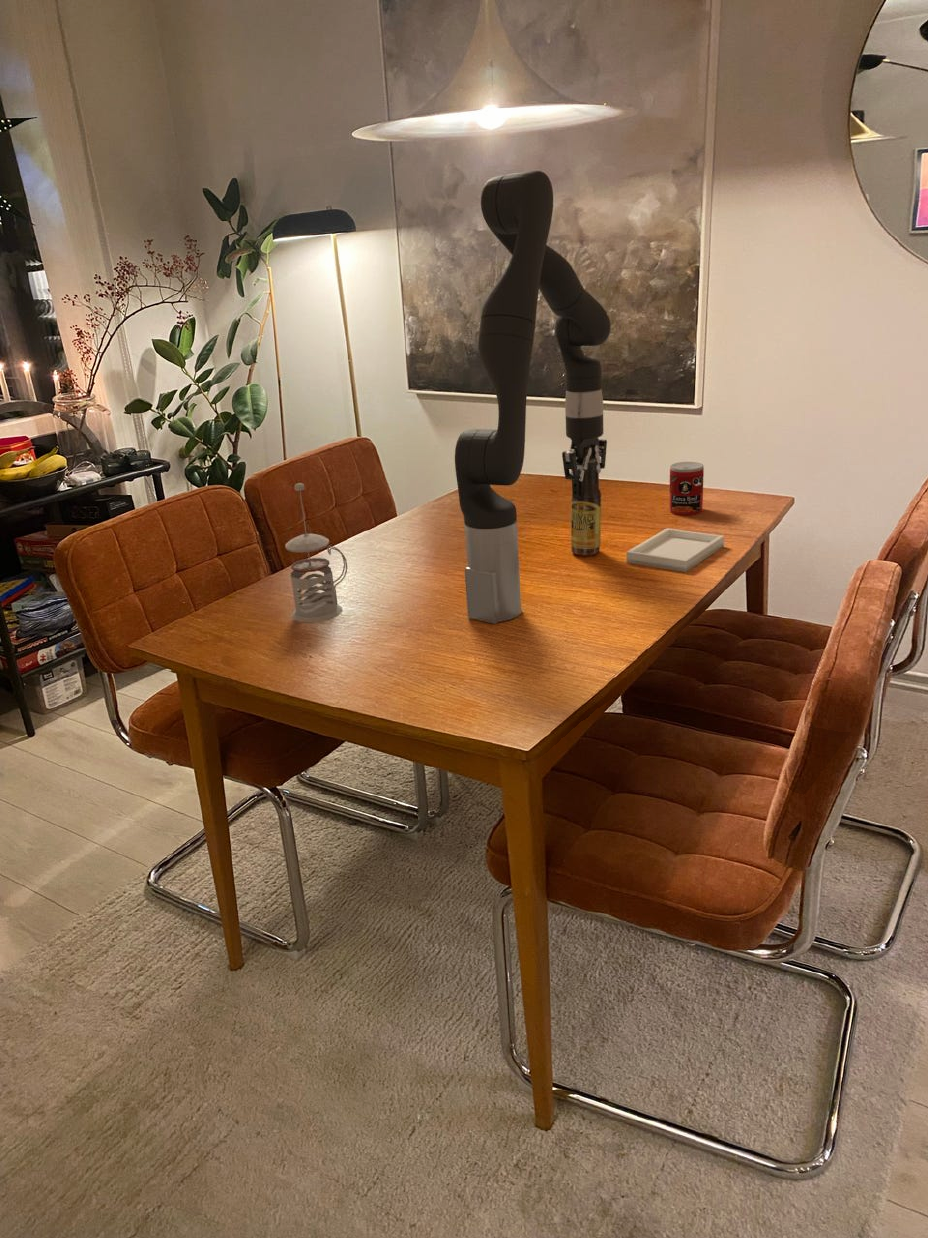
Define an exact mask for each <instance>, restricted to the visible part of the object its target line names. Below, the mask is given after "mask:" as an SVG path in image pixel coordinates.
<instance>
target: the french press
mask: <svg viewBox="0 0 928 1238" xmlns="http://www.w3.org/2000/svg"><path fill="white" fill-rule="evenodd" d="M303 490H306V488H305V484H304V483H302V482H297V483H295V485H294V491H296V492H298V491H299V497H300V503H301V510H302V511H301V513H302V518H303V525H304V526H303V527H304V532H305V533H303V534H300V535H298V536H296V537H293V538H291V539H290V540H289V541H288V542H286V543H285V549H286V550H287V551H288V552H292V553H307V555H308V558H304V559H299V560H297V561H294V562H293V563H292V564H291V565H290V569H291V570H292V571H291V573H290V580H291V587H292V593H293V599H294V600H293V601H294V607H295V609H294V610H293V611H292V612H291V613H290V618H291V619H292V620H294V621H295V622H299V623H309V624H310V623H313V624H314V623H320V622H324V621H328V620H332V619H334V618H336V617H339V616H340V615H341V614H342V613H343V607H342V606H340V604H338V596H337V590H336V589H337V588H336V587H337V586H338V585H340V584H341V583H342V582H343V581H344V579H346V575H347V573H348V562H347V558H346V557H345V555H344V553H343V552H342V551H341V550H340V549H339V548H338V547H335V546H333V545H329V544H330V540H329V538H327V537H326V536H324V535H322V534H321V535H320V534H316V533H307V528H306V519H305V512H304V507H303V498H302V492H301V491H303ZM326 547H327V548H326ZM325 548H326V549H327V550H326V551H327V554H328V555H329V556H331V555H332V550H334V551H337V552H338V553H339V554H340V555H341V557H342V560H343V561H342V562H343V567H342V572H341V574H340V576H339V577H337V578H336V579H335V580H334V577H333V570H332V567H330V566H329V565H330V560H328V559H326V558H322V557H314V558H313V557H312V558H311V555H310V552H316V551H320V550H322V549H325ZM312 572H321V573H322V574H319V573H312ZM307 573H311V574H307ZM306 574H307V575H306ZM305 575H306V576H305ZM343 575H344V576H343ZM303 576H305V577H304V578H302V577H303ZM341 578H342V579H341ZM340 579H341V580H340ZM339 580H340V581H339ZM319 584H320V585H319ZM318 585H319V586H318ZM303 591H304V592H303ZM318 591H322V592H318ZM302 592H303V593H302Z"/></svg>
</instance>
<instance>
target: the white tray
mask: <svg viewBox="0 0 928 1238" xmlns="http://www.w3.org/2000/svg"><path fill="white" fill-rule="evenodd" d="M724 547H725V535H722V534H721V535H720V534H714V533H713V534H712V533H706V532H698V531H691V530H690V531H689V530H684V529H683V530H682V529H677V528H676V529H675V528H669V527H668V528H665V529H663V530H661V531H659V532H658V533H657V534H655V535H653V536H651V537H650V538H648V539H646V540H644V541H643V542H640V543H639V544H637V545H635V546H634V547H632V548H631V549H629V550H627V551H626V563H628V564H632V565H633V564H634V565H640V566H645V567H652V568H657V569H663V570H671V571H674V572H675V571H676V572H682V573H687V572H688V571H690V570H691V569H693V568H694V567H696V566H697V565H698V564H700V563H702V562H703V561H704V560H706V559H707V558H709V557H710V556H712V555H713V554H715V553H716V552H718V551H719V550H720V549H722V548H724Z"/></svg>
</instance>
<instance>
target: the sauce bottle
mask: <svg viewBox="0 0 928 1238" xmlns="http://www.w3.org/2000/svg"><path fill="white" fill-rule="evenodd" d="M582 464H583V463H577V465H582ZM596 467H597V460H596V459H592V460H590V461H589V462H588V467H587V470H585V471H584V476H583V480H582V481H583V494H584V496H583V498H582V499H574V498H573V495H571V503H570V504H571V505H570V545H571V548H570V550H571V553H573V554H575V556H586V557H588V556H589V557H590V556H593V555H596V554H598V553H599V552H600V549H601V544H602V540H601V539H602V538H601V535H602V531H601V530H602V528H601V527H602V525H601V524H602V504H601V502H602V501H601V500H602V492H601V490H600V487H599V488H598V486H597V484H596ZM579 471H580V470H578V475H579Z"/></svg>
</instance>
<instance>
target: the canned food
mask: <svg viewBox="0 0 928 1238" xmlns="http://www.w3.org/2000/svg"><path fill="white" fill-rule="evenodd" d="M704 470H705V469H704V464H703V463H701V462H698V461H697V462H696V461H681V462H680V461H679V462H675V463H672V464H670V467H669V502H668V503H669V504H668V505H669V511H670V513H671V514H673V515H677V516H693V515H698V514H700V513H701V512H702V510H703V503H704V501H703V500H704V499H703V498H704V474H705V473H704V472H705V471H704Z"/></svg>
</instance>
